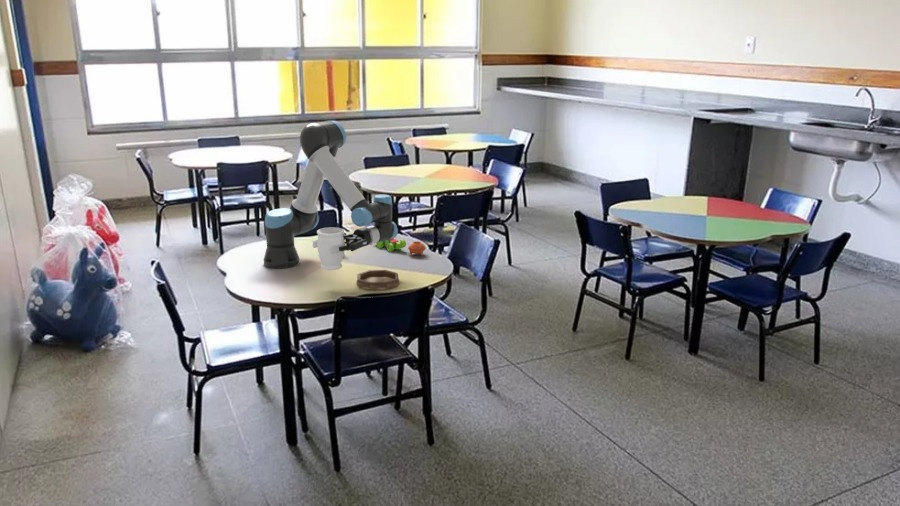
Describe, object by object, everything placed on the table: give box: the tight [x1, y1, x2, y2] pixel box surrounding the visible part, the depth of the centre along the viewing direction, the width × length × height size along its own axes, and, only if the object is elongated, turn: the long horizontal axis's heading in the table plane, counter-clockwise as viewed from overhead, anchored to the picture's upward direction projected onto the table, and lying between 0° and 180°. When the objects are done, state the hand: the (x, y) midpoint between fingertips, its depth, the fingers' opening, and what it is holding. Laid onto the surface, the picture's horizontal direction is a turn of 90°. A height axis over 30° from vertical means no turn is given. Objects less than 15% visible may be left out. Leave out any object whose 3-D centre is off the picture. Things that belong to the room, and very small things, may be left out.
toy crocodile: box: [375, 238, 407, 253], centre depth 325 cm, size 20×7×6 cm, turn 45°
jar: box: [316, 226, 345, 271], centre depth 269 cm, size 11×10×15 cm
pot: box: [407, 240, 426, 257], centre depth 315 cm, size 8×8×7 cm
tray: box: [355, 269, 400, 291], centre depth 278 cm, size 17×17×3 cm
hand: (322, 247), depth 266 cm, fingers closed on jar, 10 cm apart
